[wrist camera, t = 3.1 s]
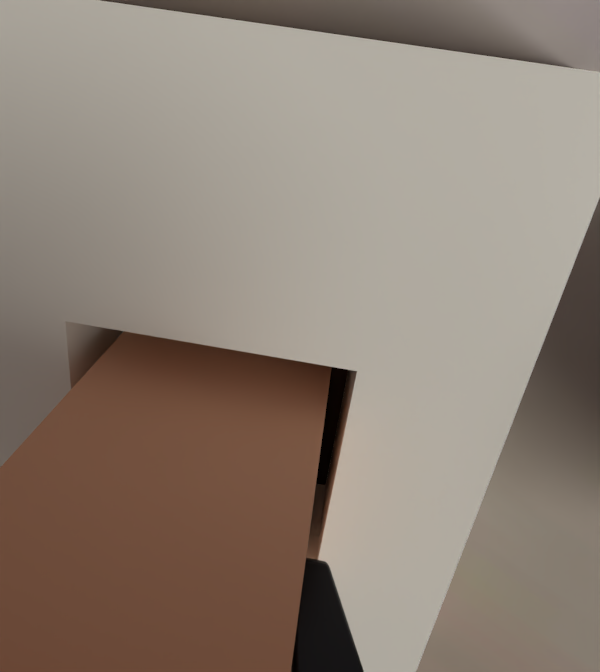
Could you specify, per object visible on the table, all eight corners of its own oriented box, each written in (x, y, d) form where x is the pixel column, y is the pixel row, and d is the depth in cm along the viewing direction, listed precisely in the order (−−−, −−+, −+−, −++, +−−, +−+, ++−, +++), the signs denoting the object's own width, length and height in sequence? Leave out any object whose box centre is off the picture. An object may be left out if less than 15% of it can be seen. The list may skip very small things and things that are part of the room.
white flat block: (393, 624, 15) (396, 721, 13) (45, 558, 16) (-8, 640, 14) (577, 69, 9) (645, 78, 6) (-35, -19, 9) (-165, -38, 7)
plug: (313, 511, 13) (239, 1084, 6) (128, 477, 13) (-169, 988, 6) (345, 345, 11) (289, 912, 4) (125, 308, 11) (-336, 776, 4)
